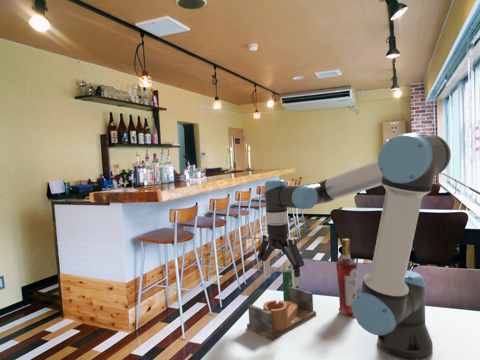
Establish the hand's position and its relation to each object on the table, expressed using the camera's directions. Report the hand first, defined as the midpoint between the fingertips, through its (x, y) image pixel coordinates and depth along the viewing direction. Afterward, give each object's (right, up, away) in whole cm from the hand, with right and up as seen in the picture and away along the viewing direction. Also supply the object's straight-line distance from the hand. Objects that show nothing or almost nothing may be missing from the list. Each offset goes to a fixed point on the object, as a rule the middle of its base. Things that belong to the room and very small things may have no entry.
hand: (281, 281), depth 126 cm
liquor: (+26, -13, +5) cm, 29 cm away
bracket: (0, -14, 0) cm, 14 cm away
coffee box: (+7, -14, +20) cm, 25 cm away
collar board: (+1, -15, +1) cm, 15 cm away
